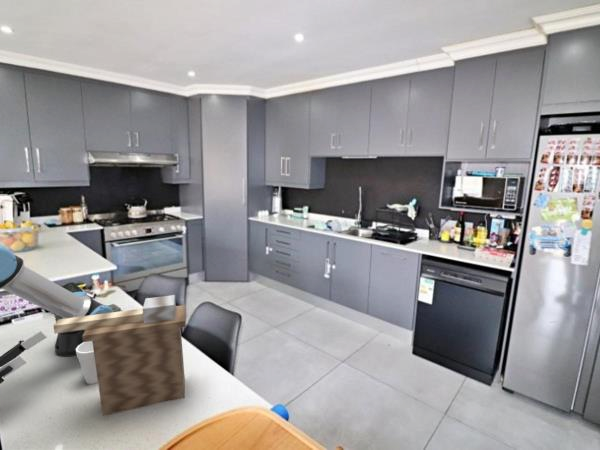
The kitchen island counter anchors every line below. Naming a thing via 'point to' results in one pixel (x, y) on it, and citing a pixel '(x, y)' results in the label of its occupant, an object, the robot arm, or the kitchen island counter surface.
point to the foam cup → (87, 361)
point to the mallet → (123, 316)
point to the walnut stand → (139, 363)
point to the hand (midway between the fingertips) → (34, 345)
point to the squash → (72, 287)
